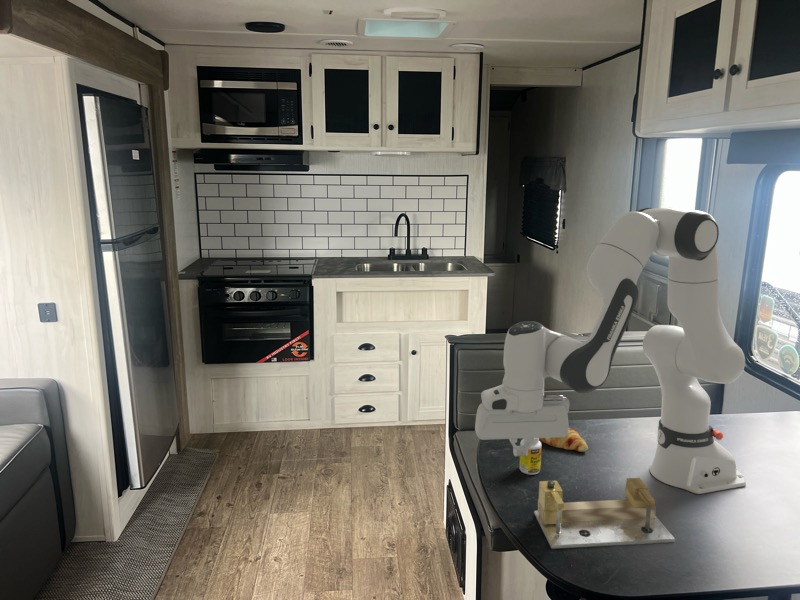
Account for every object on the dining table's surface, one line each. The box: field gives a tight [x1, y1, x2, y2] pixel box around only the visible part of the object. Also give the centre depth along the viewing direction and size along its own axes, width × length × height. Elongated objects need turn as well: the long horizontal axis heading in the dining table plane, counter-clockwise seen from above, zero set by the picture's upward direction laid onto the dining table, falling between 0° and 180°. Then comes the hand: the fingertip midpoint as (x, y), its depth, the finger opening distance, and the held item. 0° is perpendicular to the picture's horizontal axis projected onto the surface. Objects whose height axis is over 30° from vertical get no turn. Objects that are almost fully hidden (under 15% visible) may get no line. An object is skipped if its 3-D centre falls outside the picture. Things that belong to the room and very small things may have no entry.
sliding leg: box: [537, 480, 565, 534], centre depth 131 cm, size 4×10×9 cm, turn 3°
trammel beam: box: [539, 477, 657, 530], centre depth 132 cm, size 26×9×8 cm, turn 93°
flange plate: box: [533, 510, 676, 550], centre depth 132 cm, size 27×13×1 cm, turn 93°
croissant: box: [539, 427, 589, 453], centre depth 174 cm, size 21×10×8 cm, turn 40°
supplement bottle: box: [519, 438, 542, 476], centre depth 157 cm, size 6×6×10 cm
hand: (520, 454), depth 131 cm, fingers closed
